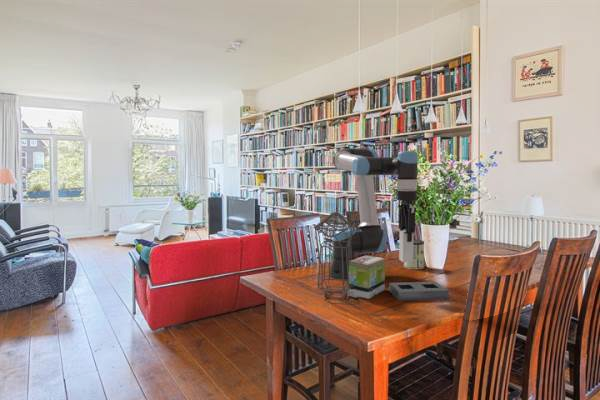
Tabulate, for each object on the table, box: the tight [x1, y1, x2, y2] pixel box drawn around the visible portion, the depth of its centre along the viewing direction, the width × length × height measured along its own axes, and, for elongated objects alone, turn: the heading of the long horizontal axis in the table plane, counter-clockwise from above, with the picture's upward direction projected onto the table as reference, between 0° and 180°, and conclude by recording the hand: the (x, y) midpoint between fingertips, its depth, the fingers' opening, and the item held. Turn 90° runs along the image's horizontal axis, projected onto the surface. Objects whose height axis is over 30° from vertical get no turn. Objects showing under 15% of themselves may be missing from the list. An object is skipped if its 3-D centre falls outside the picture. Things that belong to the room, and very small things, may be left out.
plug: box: [398, 229, 414, 263], centre depth 151 cm, size 4×4×13 cm
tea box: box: [347, 254, 386, 300], centre depth 157 cm, size 15×10×15 cm, turn 143°
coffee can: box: [403, 238, 425, 270], centre depth 202 cm, size 10×10×14 cm
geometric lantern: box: [313, 211, 357, 300], centre depth 155 cm, size 16×16×35 cm
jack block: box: [388, 281, 450, 302], centre depth 153 cm, size 20×12×4 cm, turn 94°
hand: (406, 248), depth 151 cm, fingers closed on plug, 4 cm apart
